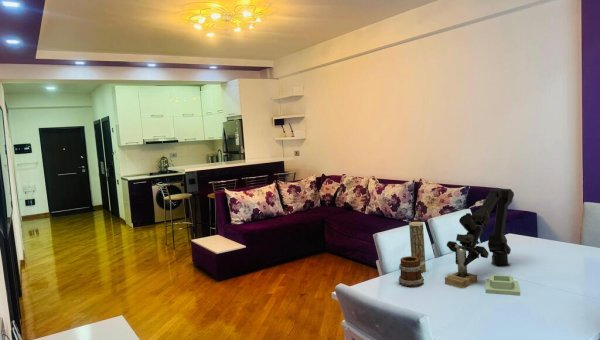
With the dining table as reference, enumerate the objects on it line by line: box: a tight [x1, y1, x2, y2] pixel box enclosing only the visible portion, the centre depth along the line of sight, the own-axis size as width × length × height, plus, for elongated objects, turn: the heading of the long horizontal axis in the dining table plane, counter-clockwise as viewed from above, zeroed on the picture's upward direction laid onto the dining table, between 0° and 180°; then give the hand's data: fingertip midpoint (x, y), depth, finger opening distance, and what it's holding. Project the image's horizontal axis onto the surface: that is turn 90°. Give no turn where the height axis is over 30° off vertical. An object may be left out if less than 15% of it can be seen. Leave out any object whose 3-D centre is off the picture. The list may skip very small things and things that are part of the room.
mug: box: [398, 252, 425, 288], centre depth 195 cm, size 12×14×15 cm
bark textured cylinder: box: [408, 221, 427, 274], centre depth 209 cm, size 7×7×25 cm
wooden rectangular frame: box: [444, 271, 478, 289], centre depth 190 cm, size 12×9×3 cm
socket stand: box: [485, 273, 521, 296], centre depth 179 cm, size 13×13×4 cm
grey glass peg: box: [457, 247, 468, 278], centre depth 190 cm, size 4×4×14 cm
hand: (460, 264), depth 189 cm, fingers closed on grey glass peg, 4 cm apart
